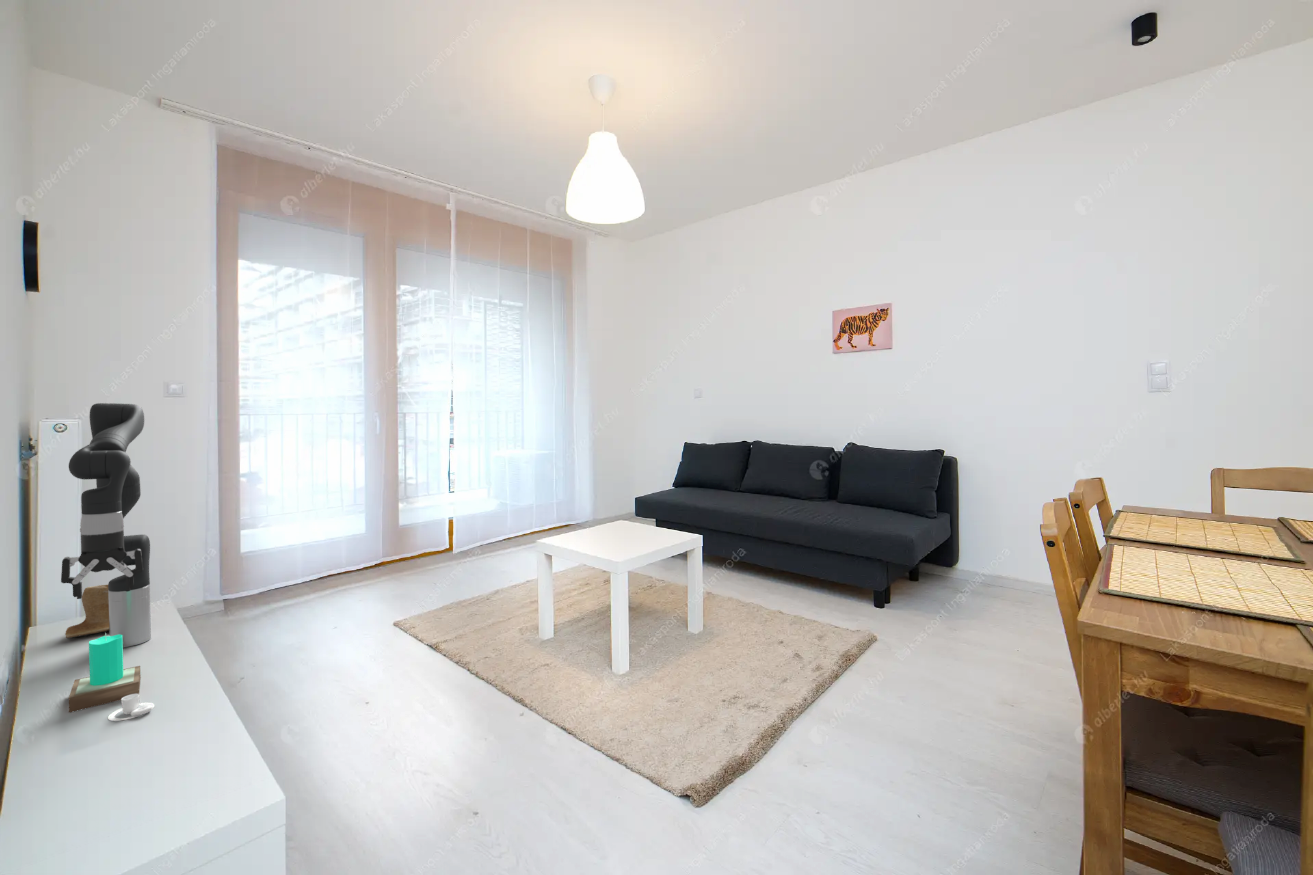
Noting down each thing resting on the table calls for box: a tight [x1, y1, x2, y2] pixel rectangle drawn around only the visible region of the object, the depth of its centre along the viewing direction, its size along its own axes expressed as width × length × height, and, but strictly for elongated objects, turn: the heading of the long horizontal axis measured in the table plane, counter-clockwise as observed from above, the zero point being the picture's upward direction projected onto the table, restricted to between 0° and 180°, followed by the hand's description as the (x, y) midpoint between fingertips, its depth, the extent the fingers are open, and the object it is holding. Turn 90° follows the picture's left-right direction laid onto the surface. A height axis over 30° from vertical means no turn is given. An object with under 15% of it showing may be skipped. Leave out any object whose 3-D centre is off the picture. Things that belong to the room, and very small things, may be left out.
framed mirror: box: [68, 665, 142, 713], centre depth 136 cm, size 12×12×4 cm
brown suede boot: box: [64, 583, 109, 639], centre depth 176 cm, size 15×12×15 cm
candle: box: [88, 632, 124, 686], centre depth 136 cm, size 6×6×12 cm
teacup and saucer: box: [107, 693, 155, 722], centre depth 128 cm, size 9×8×4 cm
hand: (104, 594), depth 135 cm, fingers open, 8 cm apart
